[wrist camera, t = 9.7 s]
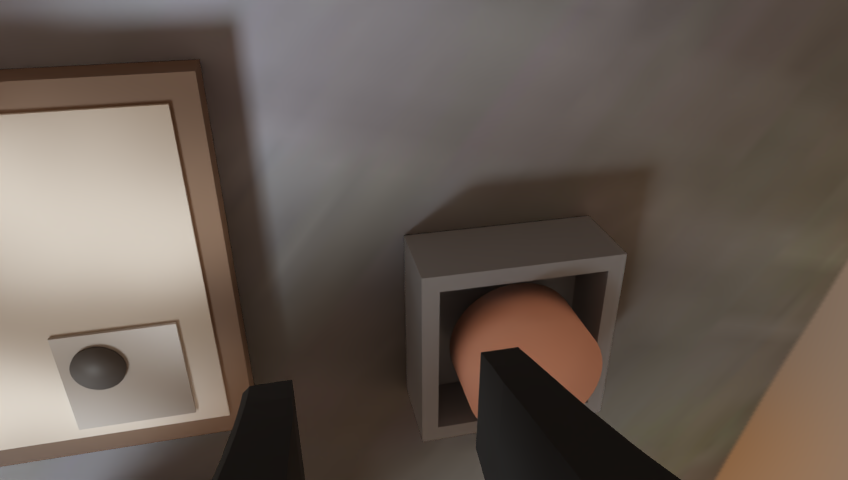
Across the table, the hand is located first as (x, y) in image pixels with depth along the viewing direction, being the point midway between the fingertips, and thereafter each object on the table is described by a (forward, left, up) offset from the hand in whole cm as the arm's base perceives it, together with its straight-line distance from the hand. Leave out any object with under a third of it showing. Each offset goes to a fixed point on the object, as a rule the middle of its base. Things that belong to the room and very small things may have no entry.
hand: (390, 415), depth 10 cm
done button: (-5, -5, -8) cm, 10 cm away
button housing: (-5, -5, -9) cm, 12 cm away
